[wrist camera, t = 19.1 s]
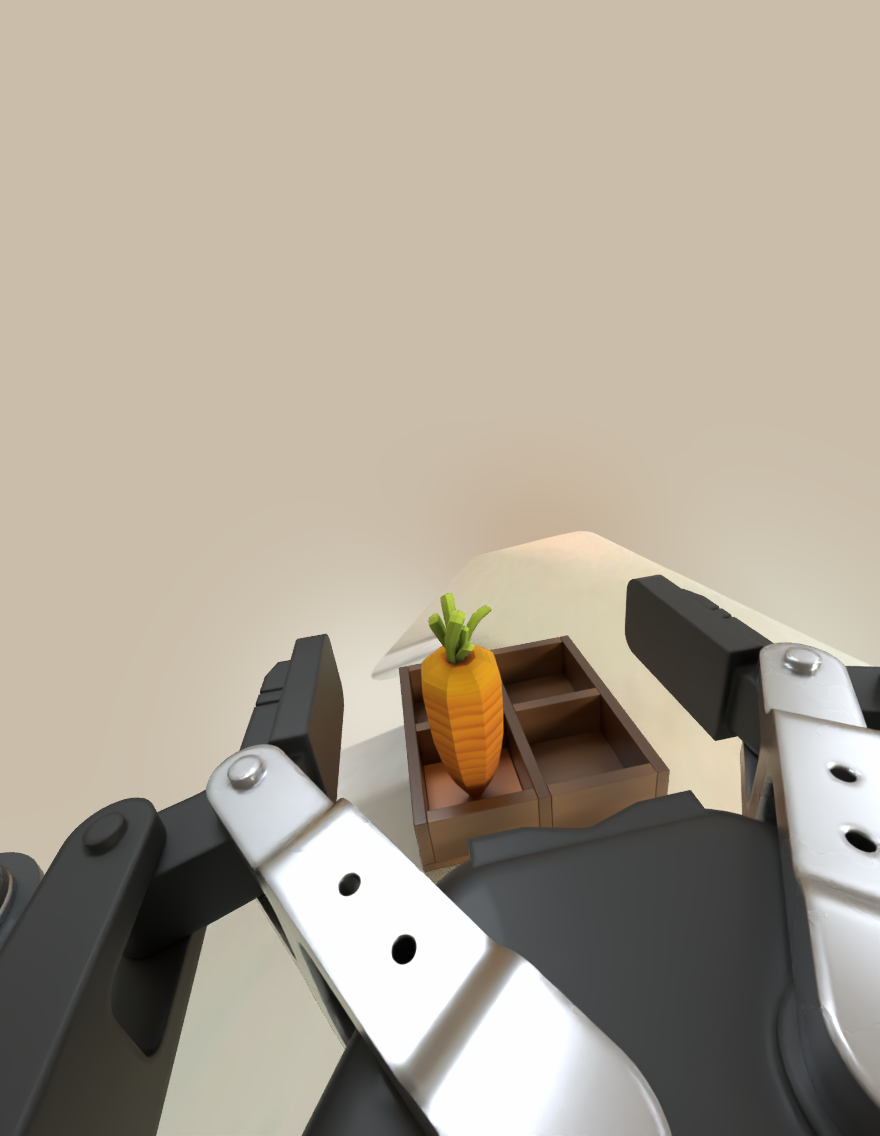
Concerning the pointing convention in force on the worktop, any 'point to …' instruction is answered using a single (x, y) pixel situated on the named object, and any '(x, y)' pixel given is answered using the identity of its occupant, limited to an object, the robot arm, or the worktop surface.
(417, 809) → the grid
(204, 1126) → the worktop surface
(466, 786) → the carrot
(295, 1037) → the worktop surface
